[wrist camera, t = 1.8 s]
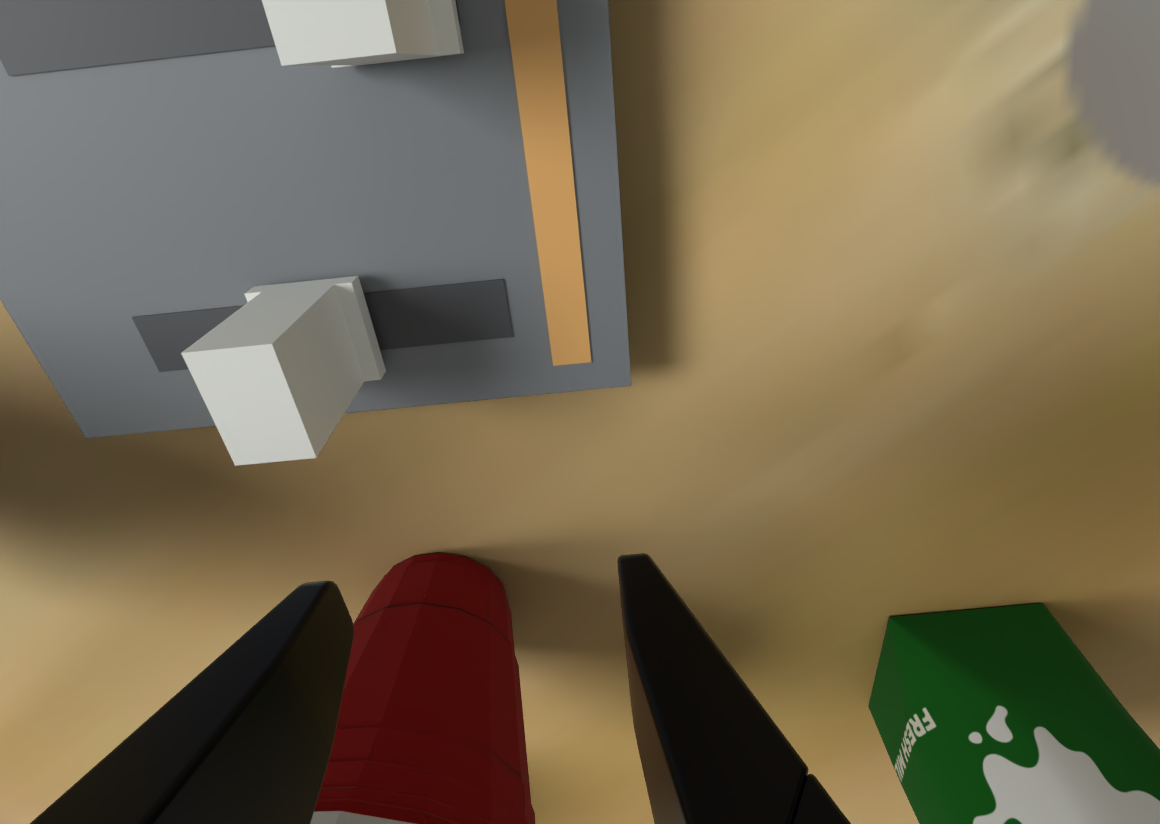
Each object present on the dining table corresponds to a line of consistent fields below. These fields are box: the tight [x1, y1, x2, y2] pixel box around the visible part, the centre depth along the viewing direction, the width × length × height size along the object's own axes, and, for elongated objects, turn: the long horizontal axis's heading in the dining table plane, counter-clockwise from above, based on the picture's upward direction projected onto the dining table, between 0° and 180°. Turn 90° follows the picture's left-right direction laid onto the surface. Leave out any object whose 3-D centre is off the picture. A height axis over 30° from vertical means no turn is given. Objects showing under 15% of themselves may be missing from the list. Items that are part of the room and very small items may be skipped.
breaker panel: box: [0, 0, 631, 438], centre depth 15 cm, size 18×22×2 cm
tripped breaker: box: [181, 276, 386, 466], centre depth 16 cm, size 3×3×5 cm
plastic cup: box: [310, 553, 535, 824], centre depth 21 cm, size 11×11×12 cm
